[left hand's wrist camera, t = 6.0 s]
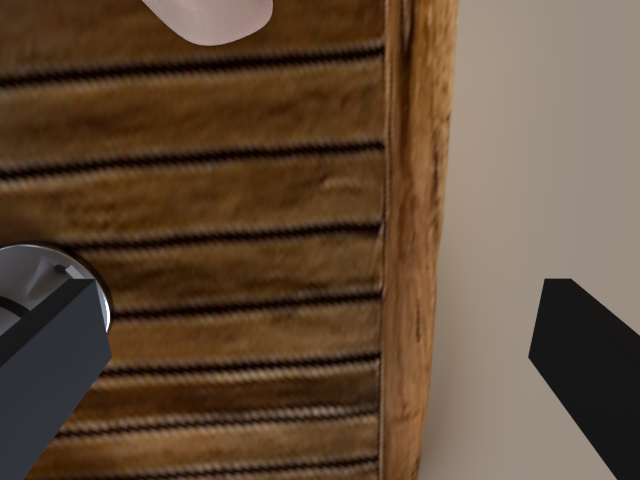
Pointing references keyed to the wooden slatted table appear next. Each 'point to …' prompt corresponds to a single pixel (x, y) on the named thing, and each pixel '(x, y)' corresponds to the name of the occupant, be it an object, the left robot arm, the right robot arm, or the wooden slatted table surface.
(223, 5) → the anatomical model
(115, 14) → the wooden slatted table surface
